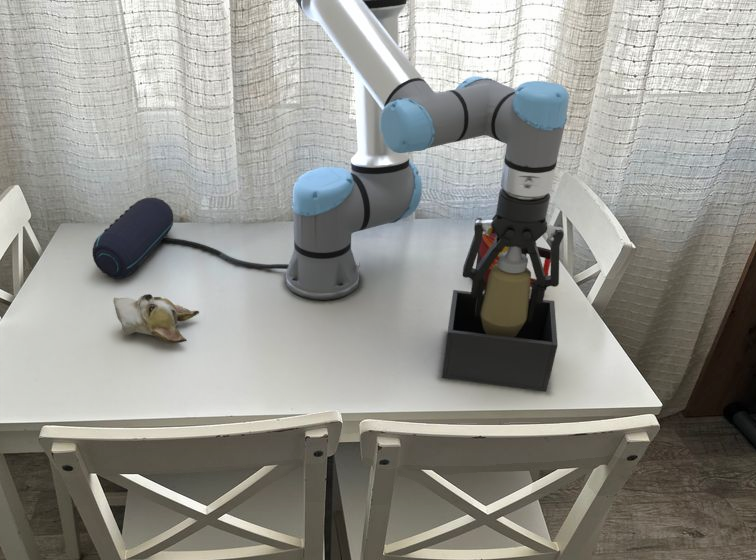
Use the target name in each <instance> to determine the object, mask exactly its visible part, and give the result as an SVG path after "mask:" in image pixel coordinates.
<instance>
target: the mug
mask: <svg viewBox="0 0 756 560" xmlns="http://www.w3.org/2000/svg"><path fill="white" fill-rule="evenodd" d="M496 237H497V235H496V233H495V232H494V230H493V229H492V228H490V229H489V230H488V232H487V234H485V235H483V237H482V242H481V245H480V248H479V251H478V253H477V256H476V261H475V262H476V263H475V268H476V267H477V266H478V264H479V263H480V261H481V260H482V258H483V257H484V255H485V254H486V253H487V251H488V250H489V248H490V247H491V245H492V244H493V242H494V240H495V238H496ZM508 248H509V247H506V246H505V247H504V249H503V250H502V251H501V252H500V253H499V254H498V256H497V257H496V259H495V260H494V262H493V263H492V264H491V266H490V267H489V269H488V270H487V272H486V273H485V274H484V276H485V282H484V289H483V291H485V288H486V285H487V281H488V278H489V274H490V270H491V268H492V267H493V266H494V265H495V264H498V258H499V255H500V254H501V253H503V252H507V250H508ZM537 249H538V252H539V256H540V258H543V259H544V262H543V265H542V266H543V269H544V273H545V276H549V271H550V268H551V248H550V249H549V248H545V247H541V246H537ZM521 250H522V254H524V255H525V256H526V257H527V255H529V254H528V250H527V247H526V249H525V248H521ZM533 281H537V279H536V278H534V277H533V278H532V277H531V282H530V288H532V285H533Z"/></svg>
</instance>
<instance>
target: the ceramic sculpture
mask: <svg viewBox="0 0 756 560" xmlns="http://www.w3.org/2000/svg"><path fill="white" fill-rule="evenodd" d="M112 301H113V306H114V310H115V315H116V318H117V320H118V321H119V323H120V324H121V331H122V332H123V333H124V334H125V335H126V336H132V335H133V334H134V333H139V334H144V335H149V336H153V337H155V338H157V339H158V340H160V341H161V342H163V343H166V344H179V343H184V342H187V341H188V339H186V338H185V337H184V335H182V333H181V332H180V330H179V329H177V328H176V327H177V324H178V322H186V321H188V320H190V319H192V318H194V317H196V316H197V315H199V314H200V311H199V310H189V309H188V308H185V307H184V306H181V305H178V304H174V303H173V302H172V301H171V300H170V299H168V298H162V297H161V296H153V295H152V294H151V293H148V294H143V295H141V296H139V298H138V299H134V298H129V297H114V298H113V300H112Z"/></svg>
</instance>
